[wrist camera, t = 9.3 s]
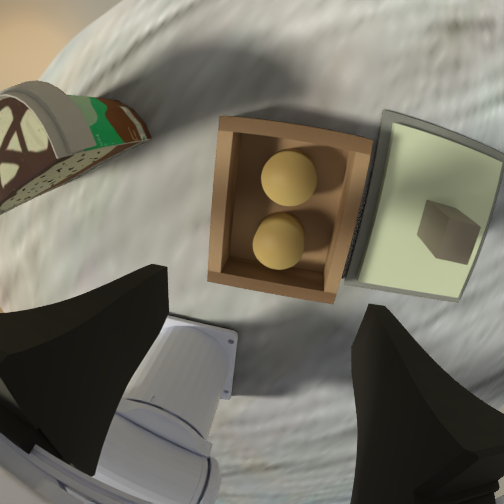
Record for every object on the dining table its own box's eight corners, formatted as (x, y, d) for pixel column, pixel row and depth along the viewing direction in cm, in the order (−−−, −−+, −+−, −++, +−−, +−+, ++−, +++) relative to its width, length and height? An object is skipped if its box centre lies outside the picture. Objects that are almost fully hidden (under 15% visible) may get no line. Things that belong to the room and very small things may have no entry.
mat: (456, 300, 20) (457, 302, 19) (343, 282, 21) (344, 284, 20) (504, 154, 14) (506, 155, 14) (382, 109, 15) (383, 109, 15)
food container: (144, 52, 16) (37, 29, 7) (170, 130, 18) (65, 152, 9) (35, 128, 19) (-56, 153, 10) (55, 190, 22) (-33, 234, 13)
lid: (455, 293, 19) (475, 325, 16) (356, 277, 20) (365, 311, 16) (498, 160, 15) (532, 173, 11) (392, 123, 15) (415, 125, 12)
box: (330, 280, 21) (333, 304, 18) (219, 260, 22) (207, 281, 19) (362, 136, 16) (373, 140, 14) (232, 116, 17) (219, 115, 15)
